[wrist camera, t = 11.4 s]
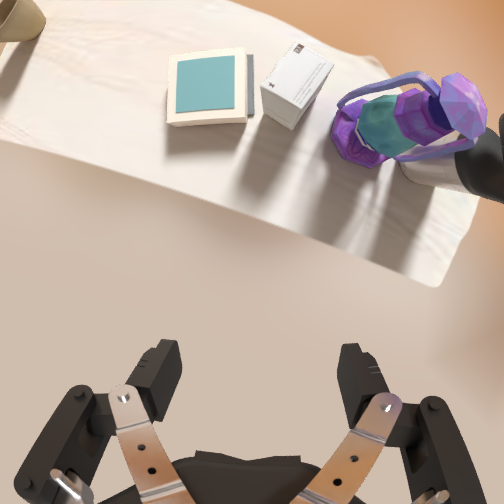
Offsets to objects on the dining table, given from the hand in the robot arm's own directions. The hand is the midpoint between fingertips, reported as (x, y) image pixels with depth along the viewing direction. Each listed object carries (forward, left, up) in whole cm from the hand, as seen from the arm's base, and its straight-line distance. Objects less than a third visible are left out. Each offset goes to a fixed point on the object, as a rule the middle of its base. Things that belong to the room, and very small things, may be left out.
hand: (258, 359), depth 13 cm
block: (+9, -16, -33) cm, 38 cm away
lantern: (-16, -15, -36) cm, 42 cm away
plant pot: (+59, -56, -36) cm, 89 cm away
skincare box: (-4, -20, -36) cm, 42 cm away
